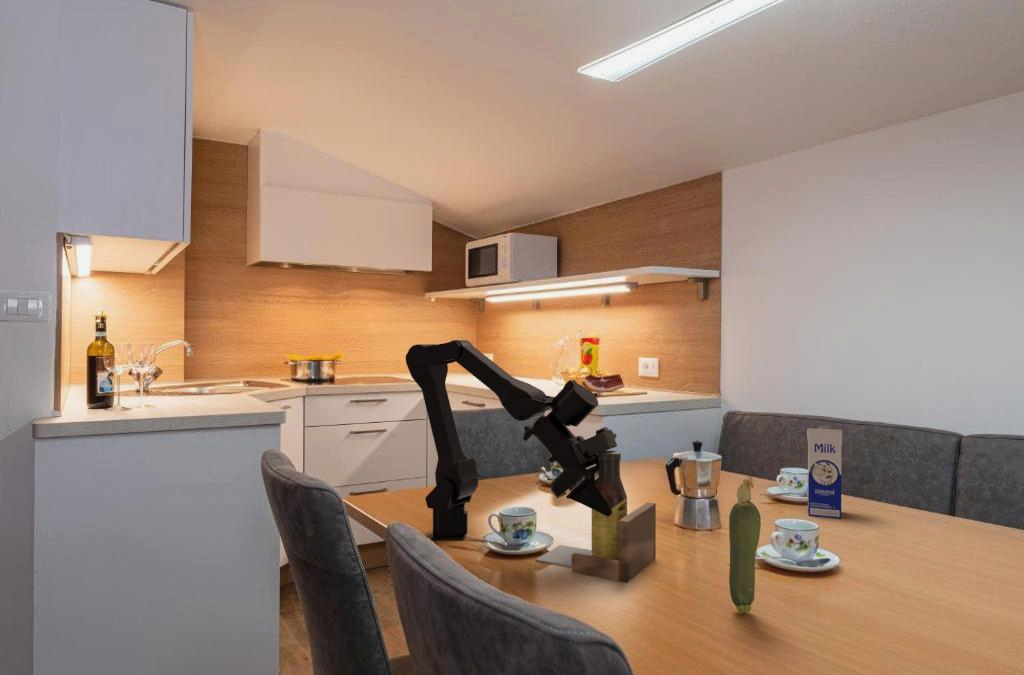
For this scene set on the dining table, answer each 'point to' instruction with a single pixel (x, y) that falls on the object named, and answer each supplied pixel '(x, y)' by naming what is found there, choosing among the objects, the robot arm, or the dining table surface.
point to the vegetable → (743, 547)
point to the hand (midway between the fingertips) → (617, 510)
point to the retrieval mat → (562, 555)
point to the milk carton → (824, 471)
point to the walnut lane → (625, 548)
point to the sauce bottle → (616, 498)
